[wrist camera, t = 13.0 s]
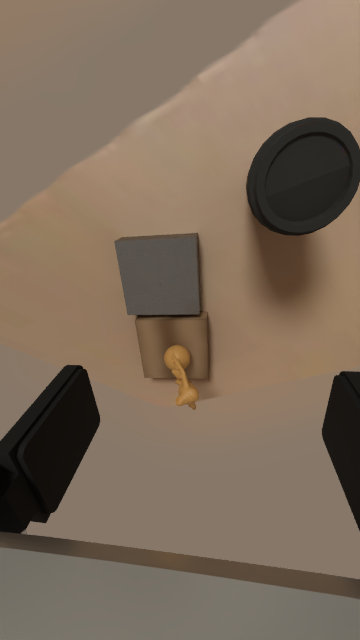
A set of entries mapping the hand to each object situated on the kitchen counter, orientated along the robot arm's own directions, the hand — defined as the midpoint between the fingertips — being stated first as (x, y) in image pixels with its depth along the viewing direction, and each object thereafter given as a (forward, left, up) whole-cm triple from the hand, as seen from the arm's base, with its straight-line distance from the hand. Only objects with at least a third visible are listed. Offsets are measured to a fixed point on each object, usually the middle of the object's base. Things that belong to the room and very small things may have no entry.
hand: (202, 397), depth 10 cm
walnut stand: (+7, +16, -30) cm, 35 cm away
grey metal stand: (+8, +4, -30) cm, 32 cm away
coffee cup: (-7, -7, -31) cm, 32 cm away
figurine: (+5, +16, -28) cm, 32 cm away
